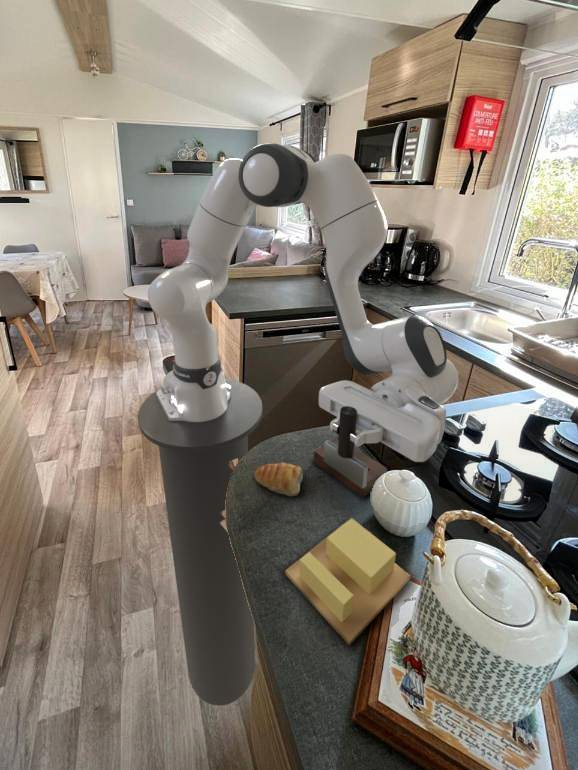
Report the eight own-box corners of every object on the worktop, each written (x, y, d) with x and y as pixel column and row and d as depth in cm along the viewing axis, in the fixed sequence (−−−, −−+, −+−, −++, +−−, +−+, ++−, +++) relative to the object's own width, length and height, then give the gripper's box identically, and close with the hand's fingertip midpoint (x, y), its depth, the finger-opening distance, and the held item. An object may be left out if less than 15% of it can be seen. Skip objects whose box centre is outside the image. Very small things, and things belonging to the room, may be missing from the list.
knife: (320, 463, 64) (323, 402, 60) (330, 456, 66) (333, 396, 62) (359, 491, 58) (365, 426, 54) (369, 483, 60) (376, 419, 56)
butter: (325, 554, 60) (326, 537, 58) (350, 533, 63) (351, 517, 62) (369, 595, 54) (371, 577, 52) (393, 570, 57) (396, 553, 56)
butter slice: (299, 576, 56) (299, 559, 55) (308, 568, 58) (309, 551, 56) (342, 622, 50) (343, 604, 49) (351, 613, 51) (353, 595, 50)
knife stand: (313, 462, 80) (314, 450, 79) (336, 448, 84) (336, 436, 83) (362, 498, 71) (364, 485, 70) (385, 480, 75) (387, 468, 74)
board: (284, 574, 58) (285, 570, 57) (344, 525, 65) (345, 522, 65) (349, 645, 49) (349, 641, 48) (409, 579, 56) (410, 575, 56)
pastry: (250, 490, 73) (250, 474, 72) (258, 466, 80) (258, 451, 78) (299, 499, 71) (299, 483, 70) (303, 474, 77) (304, 459, 76)
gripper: (348, 366, 73) (296, 390, 66) (457, 413, 58) (405, 451, 50) (346, 394, 75) (295, 420, 68) (450, 447, 60) (400, 489, 52)
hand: (343, 434), depth 59 cm, fingers closed on knife, 2 cm apart
